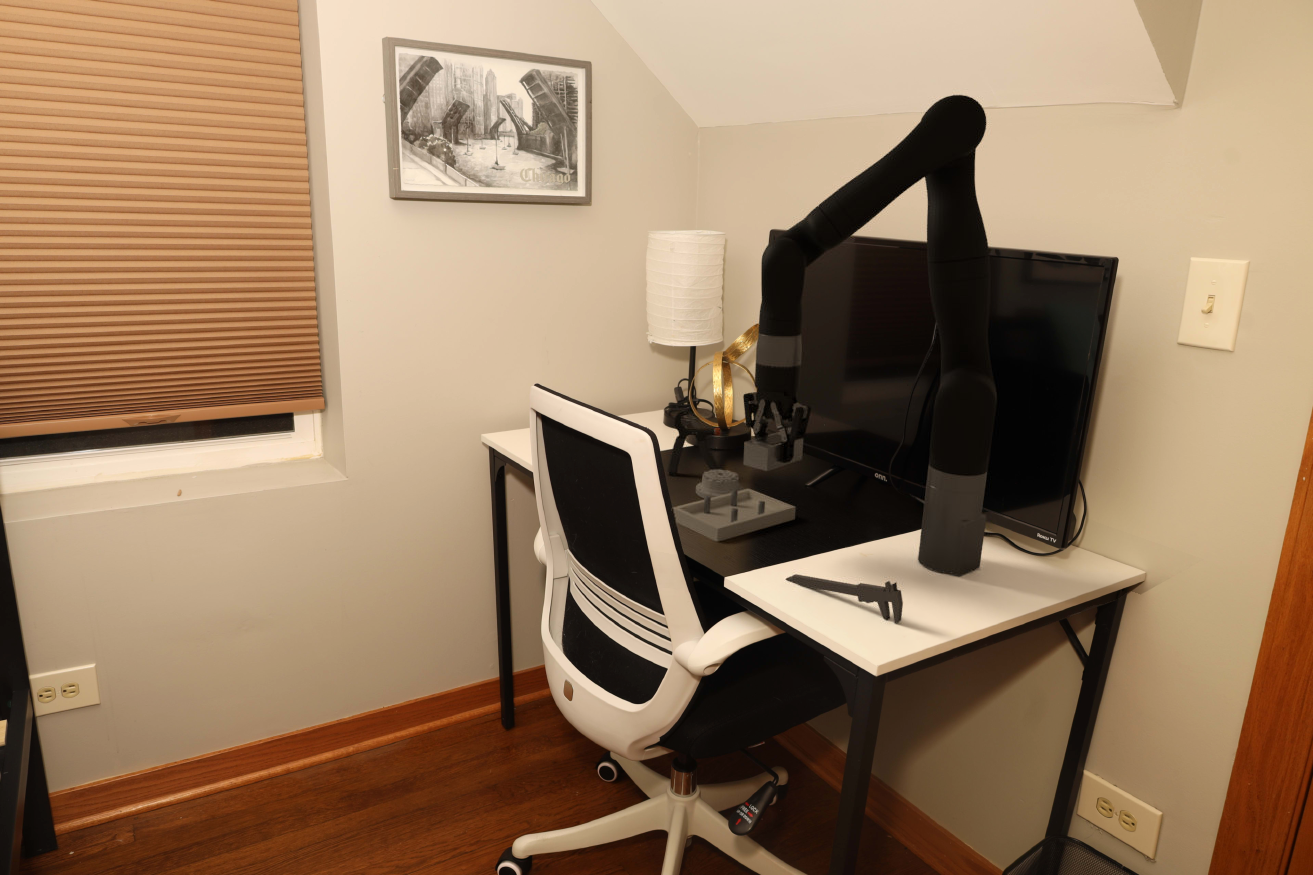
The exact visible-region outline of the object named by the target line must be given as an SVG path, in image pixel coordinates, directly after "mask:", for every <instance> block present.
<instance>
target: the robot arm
mask: <svg viewBox="0 0 1313 875" xmlns="http://www.w3.org/2000/svg"><path fill="white" fill-rule="evenodd" d="M985 112H986V111H985V109H984V108H983V106H982V105H981V104H980V103H979V101H978V100H976V99H975V98H973V97H970V96H968V95H963V94H953V95H949V96H948V95H947V96H945V97H943V98H941V99H938V100H937V101H936V102H934V103H933V104H932V105H931V106H930V107H929V108H928V109H927V110H926V111H925V112H924V114H923V116H922V117H921V119H920V121H919V122H918V123H917V125H916V126H914V127H913V129H912V130H911V131H910V132H909V133H908V134H907V135H906V136H905V137H904V138H903V139H902V140H901V141H900V142H899V143H897V145H895V146H894V147H893V148H892V149H891V150H889V151H888V152H887V153H886V154H885V155H884V156H882V157H881V158H880V159H879V160H877V161H876V162H875V163H873V164H871V165H870V166H869V167H867V169H865V170H863V171H862V172H861V173H858V175H856V176H855V177H853V178H852V179H850V180H849V181H848V182H845V184H844V185H842V186H841V187H840V188H838V189H837V190H836V191H835V192H833V193H832V194H831V195H830V196H828V197H827V198H825V199H824V200H823V201H822V202H821V203H819V204H818V205H817V206H816V207H815V208H813V209H812V210H811V211H810V212H809V213H808V214H807V215H806V216H805V217H804V218H803V219H801V220H800V221H798V222H797V223H796V224H794V225H793V226H792V227H790V228H788V229H787V230H785V231H784V232H783V233H781V234H779V235H778V236H777V237H776V238H775V239H773V240H771V242H770V243H769V244H767V246H766V247H765V249H764V251H763V253H762V257H761V265H760V267H761V269H760V271H761V272H760V273H761V274H760V276H761V277H760V278H761V279H760V280H761V282H760V283H761V284H760V285H761V286H760V287H761V289H760V290H761V302H760V308H759V318H758V320H759V321H758V335H757V336H758V337H757V341H756V348H755V351H756V352H755V353H756V354H755V370H754V387H755V388H756V389H757V390H756V391H752V392H748V393H744V394H743V397H742V398H743V408H744V409H743V410H744V417H745V419H744V420H745V427H747V429H748V428H750V429H752V431H753V434H754V439H757V438H760V437H763V436H767V435H769V433H768V429H769V426H770V425H771V422H772V421H774V423H775V425H776V428H777V429H778V430H779V432H780V434H781V439H782V441H781V453H780V462H782V463H787V462H790V461H791V460H792V459H793V457H794V442H795V440H799V439H803V440H804V439H805V437H806V432H807V428H808V423H809V421H810V420H809V419H810V416H811V412H812V407H811V406H810V405H802V404H801V403H799V401H798V397H797V393H798V392H797V391H799V388H800V385H801V370H802V369H801V367H802V353H803V352H802V351H803V349H802V348H803V347H802V346H803V345H802V343H803V342H802V328H803V304H802V301H803V300H802V299H803V295H804V294H803V292H804V286H805V285H804V284H805V277H806V275H805V274H806V269H807V268H808V267H809V266H810V265H812V264H813V263H814V262H815V261H816V260H818V259H819V258H820V257H821V256H822V255H824V254H825V253H826V252H828V251H829V250H833V249H835V248H836V247H839V245H840V244H842V243H844V242H845V241H847V239H849V238H850V237H851V236H853V235H854V234H855V233H857V232H858V231H859V230H861V228H862V229H863V227H864V226H865V225H867V224H868V223H869V222H870V221H871V220H873V219H874V218H875V217H877V215H879V214H880V213H881V212H882V211H883V210H885V209H886V208H887V207H888V206H889V205H890V204H891V203H892V202H894V201H895V200H896V199H897V198H898V197H900V196H901V195H902V194H904V193H905V192H906V191H907V190H909V189H910V188H911V187H913V186H914V185H916V184H917V183H918V182H921V180H923V179H925V187H926V193H927V194H926V196H927V197H926V198H927V214H926V215H927V216H926V251H927V255H926V257H927V258H926V260H927V272H928V285H929V287H928V288H929V293H930V294H929V295H930V300H931V306H932V310H933V315H934V318H935V321H936V322H935V324H936V325H937V330H938V334H939V339H940V378H939V380H940V381H939V387H938V391H937V393H936V396H935V400H934V406H933V416H932V423H931V424H932V425H931V433H930V442H929V443H930V445H929V460H928V467H927V468H928V469H927V475H926V476H927V477H926V483H925V484H926V485H925V494H924V495H925V496H924V503H923V512H922V513H923V514H922V520H921V527H920V528H921V529H920V537H919V546H918V554H917V561H918V562H919V564H921V566H923V567H925V568H927V569H929V570H931V571H935V572H938V573H943V574H950V575H951V574H952V575H955V576H957V577H960V576H964V575H966V574H968V573H970V572H973V571H975V570H978V569H980V567H981V559H982V554H983V546H984V539H985V531H986V524H987V515H986V514H983V505H984V504H983V503H984V500H985V499H984V497H985V489H986V482H987V477H988V476H987V475H988V468H989V463H990V456H991V447H992V441H993V440H992V439H993V434H994V433H993V432H994V425H995V419H996V411H997V400H998V394H997V388H996V383H995V381H994V380H995V379H994V375H993V369H992V363H991V356H990V350H989V338H988V337H989V336H988V335H989V334H988V332H989V330H988V329H989V317H990V304H991V268H990V266H991V264H990V250H989V243H988V238H987V237H988V236H987V232H986V228H985V225H984V224H985V223H984V220H983V216H982V212H981V210H980V205H979V201H978V197H977V190H976V151H977V150H976V149H977V147H978V146H979V145H980V143H981V142H982V141H983V139H984V136H985V133H986V130H987V114H986V113H985ZM784 421H787V422H784Z"/></svg>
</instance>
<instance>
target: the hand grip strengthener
mask: <svg viewBox="0 0 1313 875" xmlns="http://www.w3.org/2000/svg"><path fill="white" fill-rule="evenodd" d="M689 411H690V410H689V409H687V408H686V409H681V410H679V411H678V413H677V414H676V415H675V417H674V424H673V425H674V427H675V429H676V430H677V432H678V435H677V436H676V438H675V440H674V442H673V446H672V449H671V454H670V457H669V462H668V465H667V466H668V467H667V472H668V476H671V475H672V476H673V475H675V476H673V477H676V476H677V475H678V470H679V469H678V468H679V463H680V459H681V457H682V456H681V455H682V451H683V449H684V446H685V442H686V440H687V437H688V436H695V438H696V441H697V445H698V449H699V452H700V454H701V456H702V458H703V460H704V462H705V464H706V465H707V466H708V468H709V470H714V469H716V470H718V469H721V470H724V469H723V467H721V465H719V463H718V462H717V460H716V459H715V457H714V456H713V454H712V452H711V450H710V447H709V444H708V442H709V441H708V438H706V437H711V436H713V437H714V436H715V437H717V436H719V437H720V436H721V435H722V433H721V427H714V428H702V426H700V424H699V423H698V422H697V421H696V419H695V418H694V416H692V415H691V413H690V412H689ZM686 415H687V417H686V419H688V421H689V422H690V423H691V425H692V426H693V427H694V428H687V427H685V426H684V425H683V423H682V417H683V416H686ZM698 428H699V429H698Z"/></svg>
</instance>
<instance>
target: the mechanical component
mask: <svg viewBox="0 0 1313 875" xmlns="http://www.w3.org/2000/svg"><path fill="white" fill-rule="evenodd" d="M701 480H702V481H701V482H698V484H696V486H695V494H696V495H697V496H698V497H701V498H702V499H704V497H710V498H713V497H717V496H721V495H725V494H729V493H731V491H732V490H737V491H741V490H745V487H744V486H742V485H741V484H740V483H739V474H738V473H736V472H735V471H730V469H729V470H728V469H726V470H724V469H723V470H721V469H718V470H716V469H714V470H711V469H709V470H708V471H704V472H703V474H702V478H701Z"/></svg>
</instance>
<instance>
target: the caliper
mask: <svg viewBox="0 0 1313 875" xmlns="http://www.w3.org/2000/svg"><path fill="white" fill-rule="evenodd" d="M785 581H789V582H792V584H794V585H795V584H796V585H797V586H800V587H804V588H805V587H806V588H811V589H816V590H821V591H828V592H833V593H837V594H842V595H849V596H855V597H857V601H858V602H860V603H863V602H864V603H865V604H871V603H877V606H878V608H879V610H880V613H881V616H882V619H883V620H884V621H888V620H890V619H891V611H890V609H891V608H892V616H893V623H894V624H898V623H900V622H901V621H902V615H903V604H904V601H903V594H902V591H901V589H898V584H897V581H896V582H894V583H891V581H890V580H888V581H885V582H884V586H881V585H876V584H869V583H863V582H859V583H857V584H855V583H854V584H853V583H847V582H843V581H836V580H830V579H825V578H820V577H814V576H807V575H803V574H796V573H795V574H792V575H791V576H788V577H786V578H785ZM890 603H891V608H890Z"/></svg>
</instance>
